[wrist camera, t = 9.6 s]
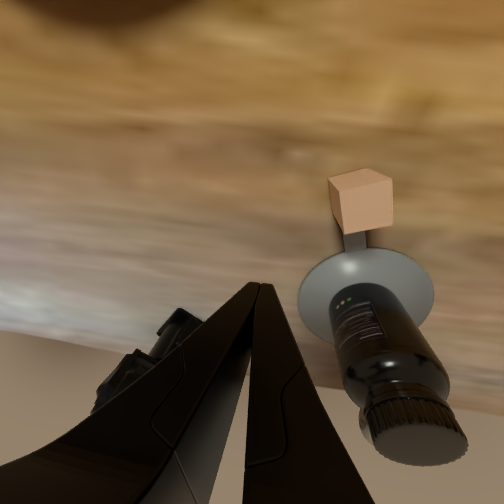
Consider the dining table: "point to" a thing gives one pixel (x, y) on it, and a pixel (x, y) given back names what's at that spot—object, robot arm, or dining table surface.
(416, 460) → the supplement bottle
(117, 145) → the dining table surface
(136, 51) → the dining table surface
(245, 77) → the dining table surface
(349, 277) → the frying pan
